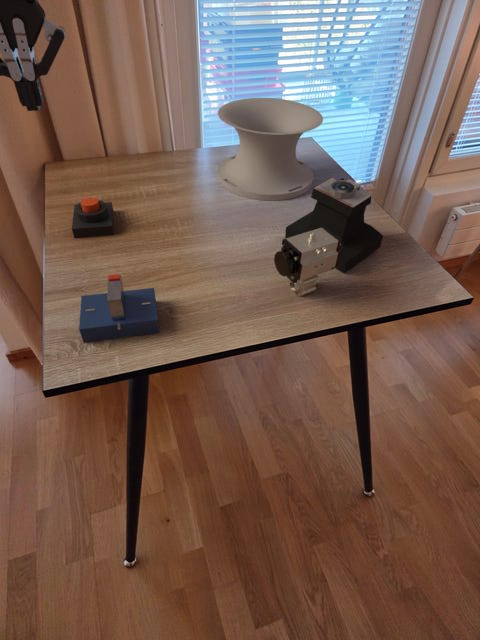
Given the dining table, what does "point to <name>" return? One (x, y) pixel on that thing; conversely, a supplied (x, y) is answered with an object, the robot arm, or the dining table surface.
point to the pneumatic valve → (308, 258)
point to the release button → (90, 204)
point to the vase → (267, 148)
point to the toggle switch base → (136, 321)
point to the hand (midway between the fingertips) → (34, 108)
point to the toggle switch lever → (116, 297)
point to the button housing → (93, 221)
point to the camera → (341, 220)
